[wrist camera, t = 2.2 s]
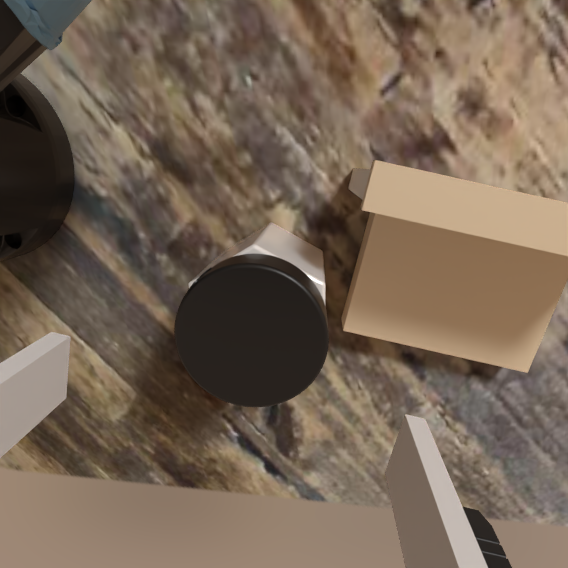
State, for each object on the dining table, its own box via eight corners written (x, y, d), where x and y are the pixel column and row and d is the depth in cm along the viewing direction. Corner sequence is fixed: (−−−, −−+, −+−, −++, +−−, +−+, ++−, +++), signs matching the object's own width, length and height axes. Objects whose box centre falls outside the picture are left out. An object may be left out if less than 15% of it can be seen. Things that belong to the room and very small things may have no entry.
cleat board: (316, 313, 33) (316, 380, 23) (355, 161, 30) (375, 160, 20) (536, 363, 33) (636, 453, 23) (600, 216, 30) (752, 243, 19)
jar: (218, 223, 32) (163, 255, 20) (324, 221, 31) (329, 254, 20) (225, 331, 34) (180, 414, 23) (324, 331, 34) (328, 417, 22)
